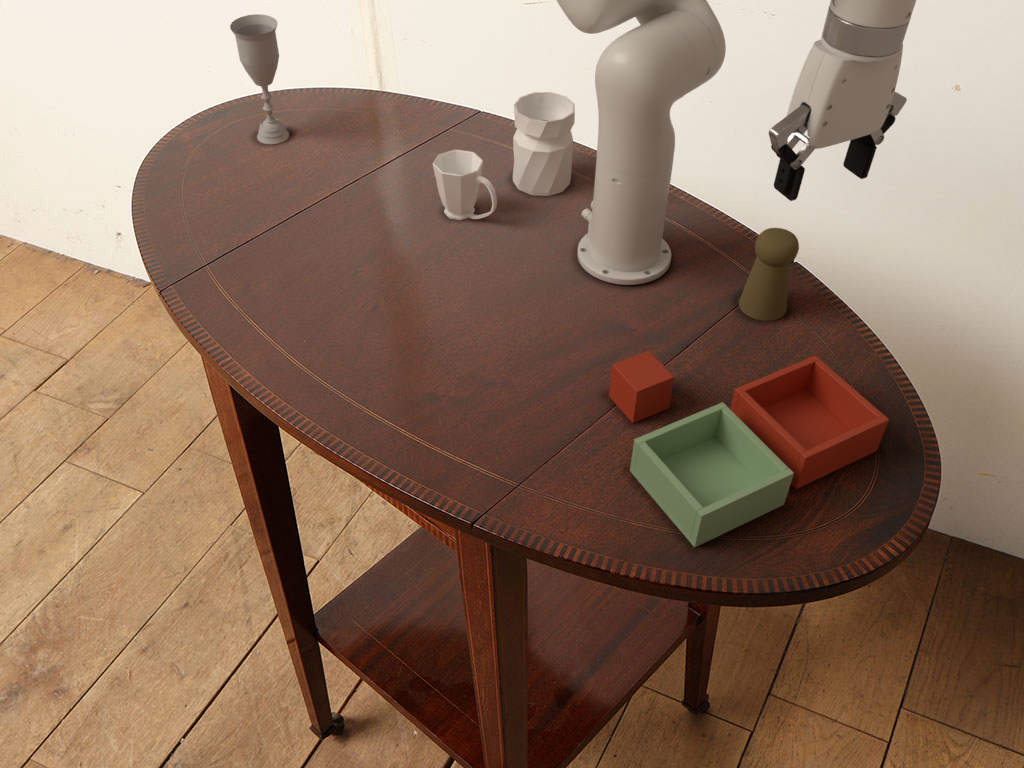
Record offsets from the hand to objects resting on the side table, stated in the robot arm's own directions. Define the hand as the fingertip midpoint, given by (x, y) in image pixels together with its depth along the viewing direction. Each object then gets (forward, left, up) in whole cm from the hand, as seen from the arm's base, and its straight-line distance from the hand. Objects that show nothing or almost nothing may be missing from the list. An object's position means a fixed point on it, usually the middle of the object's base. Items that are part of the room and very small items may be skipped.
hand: (820, 183), depth 106 cm
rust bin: (+14, -9, -22) cm, 28 cm away
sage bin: (+15, -23, -22) cm, 35 cm away
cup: (-42, -22, -23) cm, 52 cm away
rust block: (+1, -22, -22) cm, 31 cm away
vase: (-45, -8, -23) cm, 51 cm away
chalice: (-76, -39, -23) cm, 88 cm away
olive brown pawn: (-6, +2, -23) cm, 23 cm away
